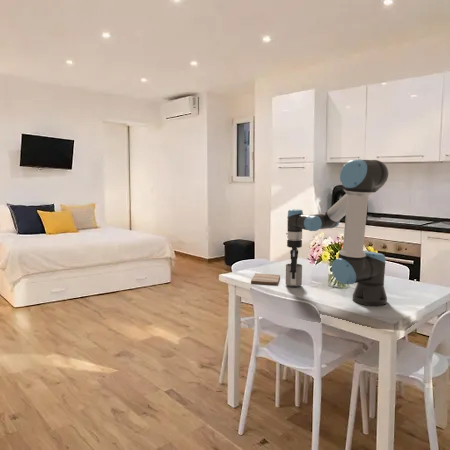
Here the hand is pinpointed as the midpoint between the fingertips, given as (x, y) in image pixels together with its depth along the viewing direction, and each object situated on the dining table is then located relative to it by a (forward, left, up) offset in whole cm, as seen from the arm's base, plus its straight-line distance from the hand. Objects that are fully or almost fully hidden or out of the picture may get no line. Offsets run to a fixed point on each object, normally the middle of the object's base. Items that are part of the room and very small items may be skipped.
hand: (293, 282), depth 222 cm
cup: (0, 0, -1) cm, 1 cm away
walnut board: (+7, +15, -2) cm, 17 cm away
